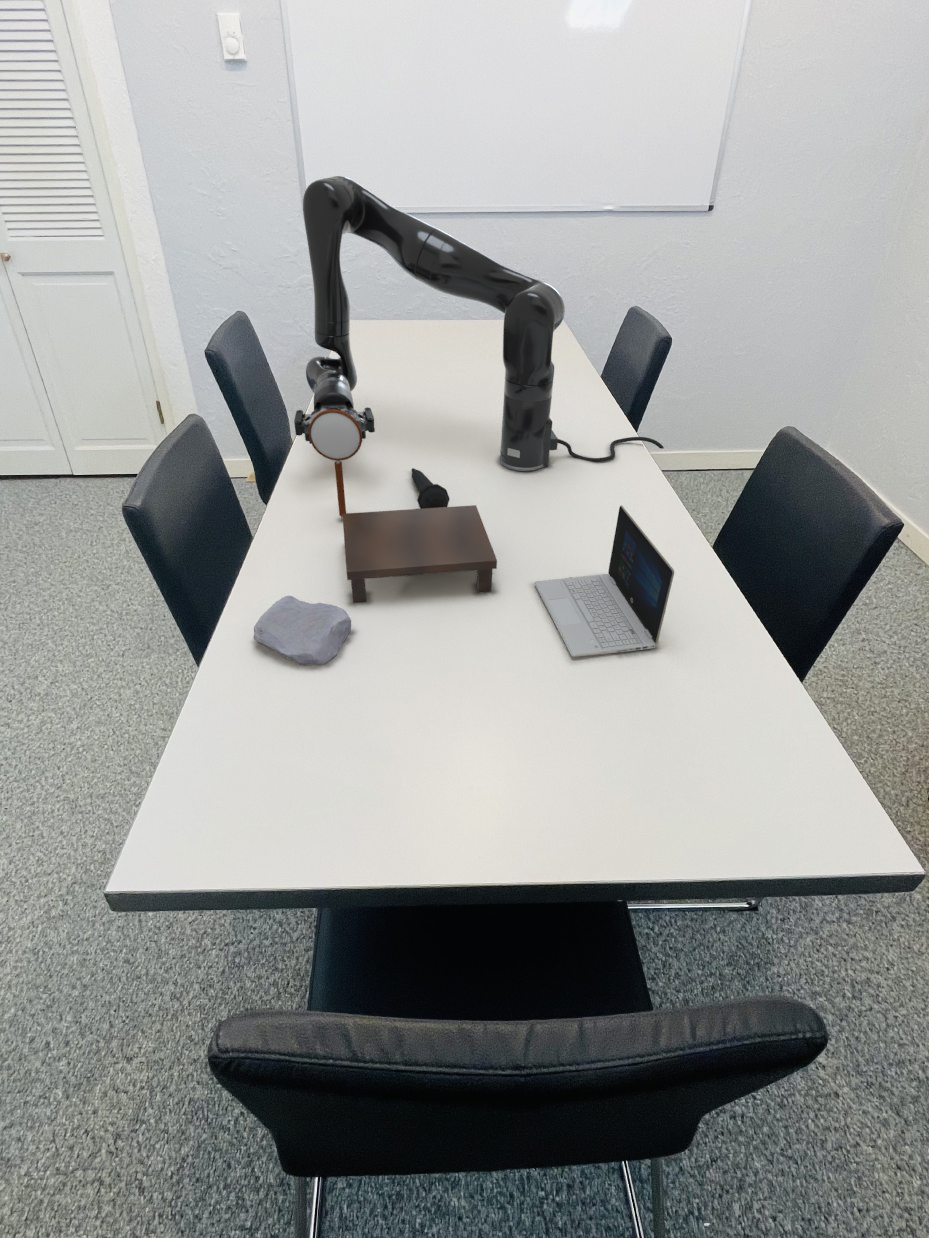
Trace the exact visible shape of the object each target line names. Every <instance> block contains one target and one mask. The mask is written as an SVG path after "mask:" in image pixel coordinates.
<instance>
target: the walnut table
mask: <svg viewBox="0 0 929 1238" xmlns="http://www.w3.org/2000/svg"><path fill="white" fill-rule="evenodd" d="M480 514H481V513H480V511H479V509H478V507H477V505H476V504H473V505H472V504H471V505H457V506H447V507H440V508H424V509H420V508H412V509H410V508H409V509H395V510H380V511H365V512H346V514H342V516H343V520H342V527H343V541H344V554H345V568H346V578H347V579H346V580H347V581H350V583H351V584H350V585H351V595H352V603H353V604H357V603H359V604H360V603H367V601H368V600H367V590H366V580H369V579H370V580H371V579H381V578H383V579H384V578H395V577H409V576H419V575H433V574H446V573H461V572H472V571H473V572H474V571H476V578H475V579H476V581H475V586H476V589H477V592H478V594H479V593H480V594H481V593H490V592H492V585H493V570H497V569H498V559H497V557H496V554H495V552H494V548H493V546H492V543H491V541H490V539H489V535H488V533H487V530H486V527H485V525H484V523H483V519H482V517H481V515H480Z"/></svg>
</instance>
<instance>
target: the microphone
mask: <svg viewBox="0 0 929 1238" xmlns="http://www.w3.org/2000/svg"><path fill="white" fill-rule="evenodd" d="M411 480H412V481H413V484H414V485H415V488H416V490H417V493H418V497H417V504H418V506H419V509H424V508H440V507H449V503H450V496H449V493H448V491H447V488H444V487H443V486H441V485H440V484H438V483H433V482H432V481H431V480H430V479H429V478H428V477H427V475H425V473H423V472H422V471H421V470H419V469H416V468H414V467H412V468H411Z"/></svg>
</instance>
